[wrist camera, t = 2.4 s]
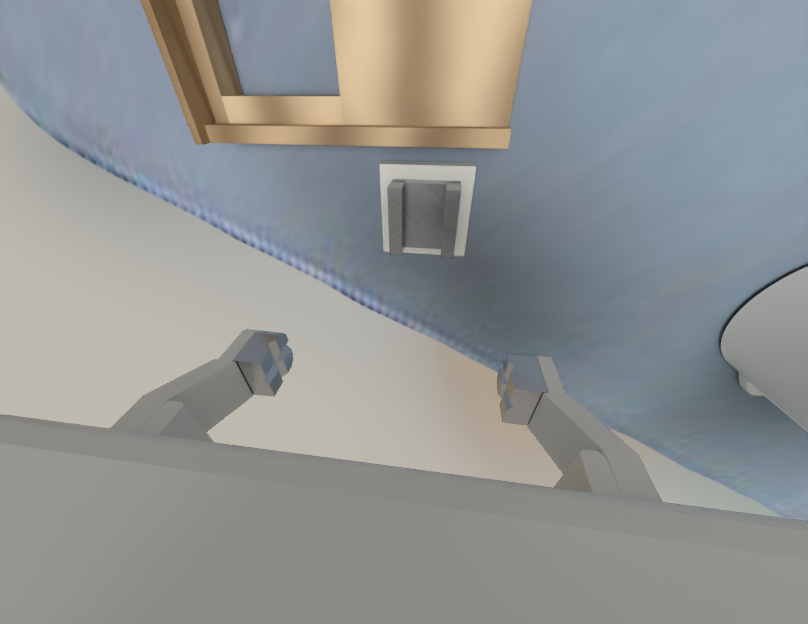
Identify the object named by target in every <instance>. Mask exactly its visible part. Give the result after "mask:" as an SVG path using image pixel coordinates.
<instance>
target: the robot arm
mask: <svg viewBox="0 0 808 624" xmlns="http://www.w3.org/2000/svg"><path fill="white" fill-rule="evenodd" d="M287 342H288V338H287V336H286V334H283V333H277V332H268V331H257V330H248V329H246V330H244V331H242V332H241V334H240V335H239V336H238V337H237V338H236V339H235V340H234V342H233V343H232V344H231V345H230V346H229V347H228V349H227V350H226V351H225V352H224V353H223V354H222V356H221V357H220V358H219V359H218V360H217V359H216V360H215V359H214V360H212V361H210V362H208V363H206V364H204V365H202V366H200V367H198V368H196V369H194V370H192V371H190V372H188V373H186V374H184V375H182V376H181V377H179V378H177V379H175V380H173V381H171V382H169V383H167V384H165V385H163V386H161V387H159V388H157V389H155V390H153V391H151V392H149V393H147V394H145V395H143V396H142V397H141V398H140V399H139V400H138V401H137V402H136V403H135V404H134V405H133V406H132V407H131V408H130V409H129V410H128V411H127V412H126V413H125V414H124V415H123V416H122V417H121V418H120V419H119V420H118V421H117V422H116V423H115V424H114V425H113V426H112V427H111V428H110V429H109V428H102V427H94V426H87V425H79V424H72V423H64V422H56V421H49V420H41V419H34V418H27V417H19V416H12V415H0V624H808V521H803V520H795V519H787V518H779V517H771V516H764V515H757V514H749V513H741V512H733V511H726V510H719V509H711V508H704V507H696V506H688V505H681V504H673V503H666V502H662V500H661V498H660V497H659V495H658V493H657V491H656V488H655V487H654V485H653V483H652V481H651V479H650V477H649V475H648V473H647V471H646V469H645V467H644V465H643V463H642V461H641V459H640V457H639V455H638V454H637V453H636V452H634V451H633V450H632V449H631V448H630V447H629V446H628V445H626V444H625V443H624V442H623V441H622V440H621V439H620V438H619V437H617V436H616V435H615V434H614V433H613V432H612V431H611V430H610V429H608V428H607V427H606V426H605V425H604V424H603V423H602V422H600V421H599V420H598V419H597V418H596V417H595V416H594V415H592V414H591V413H590V412H589V411H588V410H587V409H586V408H584V407H583V406H582V405H581V404H580V403H579V402H578V401H576V400H575V399H574V398H573V397H572V396H571V395H566V394H565V391H564V388H563V386H562V383H561V380H560V378H559V375H558V373H557V370H556V367H555V365H554V362H553V359H552V358H551V357H550V356H540V355H527V354H515V353H505V354H504V355H503V358H502V364H503V367H501V368H500V369H499V372H498V377H497V390H498V395H499V396H500V397H501V398H502V400H501V403H500V410H501V416H502V422H506V423H513V424H521V425H528V428H529V429H530V431H531V432H532V433H533V435H534V436H535V437H536V439H537V440H538V441H539V442H540V444H541V445H542V446H543V447H544V449H545V450H546V452H547V453H548V454H549V456H550V457H551V458H552V460H553V461H554V462H555V463H556V465H557V466H558V468H559V469H560V470H561V471H562V473H563V476H562V477H561V479H560V480H559V481H558V482H557V484H556V485H555V486H554V488H552V487H545V486H537V485H529V484H522V483H515V482H507V481H499V480H492V479H484V478H477V477H469V476H461V475H455V474H447V473H440V472H432V471H424V470H417V469H409V468H402V467H395V466H387V465H380V464H372V463H364V462H356V461H349V460H342V459H335V458H327V457H319V456H312V455H305V454H297V453H290V452H282V451H274V450H267V449H259V448H252V447H244V446H236V445H229V444H221V443H214V442H213V440H212V439H211V438H210V436H209V435H208V434H207V431H208V430H210V429H211V428H212V427H213V426H215V425H216V424H217V423H219V422H220V421H221V420H223V419H224V418H225V417H226V416H228V415H229V414H230V413H231V412H233V411H234V410H235V409H237V408H238V407H239V406H241V405H242V404H243V403H244V402H246V401H247V400H248V399H249V398H251V397H252V396H253V395H265V396H275V395H276V393H277V391H278V389H279V388H280V386H281V384H282V382H283V381H282V376H284V375H285V374H287V373H288V372H289V370H290V368H291V366H292V362H293V353H292V350H291V348H289V347H288V346H287V345H286V344H287ZM721 352H722V355H723V357H724V358H725V360H726V361H727V362H728V363H729V364H730V365H731V366H733V367H734V368H735V369H736V370H737V371H738V373H739V384H740V386H741V387H742V388H743V389H744V390H746V391H747V392H748V393H749V394H751V395H755V396H765V397H767V398H768V399H769V400H770V401H771V402H772V403H774V404H775V405H776V406H777V407H778V408H780V409H781V410H782V411H783V412H784V413H786V414H787V415H788V416H789V417H790V418H791V419H793V420H794V421H795V422H796V423H797V424H799V425H800V426H801V427H802V428H804V429H805V430H806V431H807V432H808V266H807V267H805V268H803V269H801V270H798V271H796V272H794V273H792V274H790V275H789V276H787V277H785V278H783V279H781V280H779V281H778V282H776V283H774V284H773V285H771V286H770V287H768V288H767V289H765V290H764V291H762V292H761V293H759V294H758V295H757V296H755V297H754V298H753V299H752V300H750V301H749V302H748V303H747V304H746V305H745V306H744V307H743V308H742V309H740V311H739V312H738V313H737V314H736V315H735V316H734V317H733V318H732V320H731V321H730V322H729V324H728V326H727V327H726V329H725V331H724V333H723V336H722V339H721Z"/></svg>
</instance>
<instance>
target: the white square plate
mask: <svg viewBox="0 0 808 624" xmlns="http://www.w3.org/2000/svg"><path fill="white" fill-rule="evenodd" d="M379 167H380V188H381V209H382V230H383V250H384V252H389V225H388V196H387V187H388V186H389V184H390V183H391V181H392V180H393V179H412V180H443V181H461V197H460V206H459V215H458V223H457V232H456V241H455V250H454V256H464V253H465V246H466V238H467V231H468V224H469V217H470V209H471V202H472V195H473V188H474V180H475V173H476V163H456V162H417V161H382V162H381V163H380V164H379ZM403 253H418V254H434V255H441V249H428V248H411V247H404V251H403Z"/></svg>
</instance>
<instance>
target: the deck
mask: <svg viewBox="0 0 808 624" xmlns="http://www.w3.org/2000/svg"><path fill="white" fill-rule="evenodd" d="M140 1H141V4H142V6H143V9H144V11H145V14H146V17H147V19H148V22H149V24H150V27H151V30H152V32H153V35H154V37H155V40H156V43H157V45H158V48H159V50H160V53H161V56H162V58H163V61H164V63H165V66H166V69H167V71H168V74H169V76H170V79H171V82H172V84H173V87H174V89H175V92H176V95H177V97H178V100H179V102H180V105H181V108H182V110H183V113H184V115H185V118H186V121H187V123H188V126H189V129H190V131H191V134H192V136H193V139H194V142H195V144H202V145H203V144H207V143H251V144H300V145H349V146H398V147H447V148H497V149H508V146H509V141H510V136H511V131H512V129H511V128H509V123H510V117H511V112H512V107H513V101H514V96H515V90H516V85H517V80H518V74H519V69H520V64H521V58H522V53H523V47H524V42H525V37H526V31H527V26H528V20H529V15H530V10H531V4H532V0H330V7H331V16H332V26H333V35H334V44H335V53H336V62H337V72H338V81H339V90H340V95H243V94H242V90H241V86H240V83H239V79H238V75H237V72H236V68H235V64H234V61H233V57H232V53H231V50H230V46H229V42H228V39H227V35H226V31H225V28H224V24H223V20H222V17H221V13H220V9H219V6H218V2H217V0H140Z"/></svg>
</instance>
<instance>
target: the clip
mask: <svg viewBox="0 0 808 624" xmlns="http://www.w3.org/2000/svg"><path fill="white" fill-rule="evenodd" d="M387 196H388V225H389V254H390V255H402V254H403V251H404V247H411V248H428V249H441V257H440V258H454V250H455V241H456V232H457V223H458V215H459V206H460V197H461V181H443V180H412V179H393V180H392V181H391V183H390V184H389V186H388V187H387Z"/></svg>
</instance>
